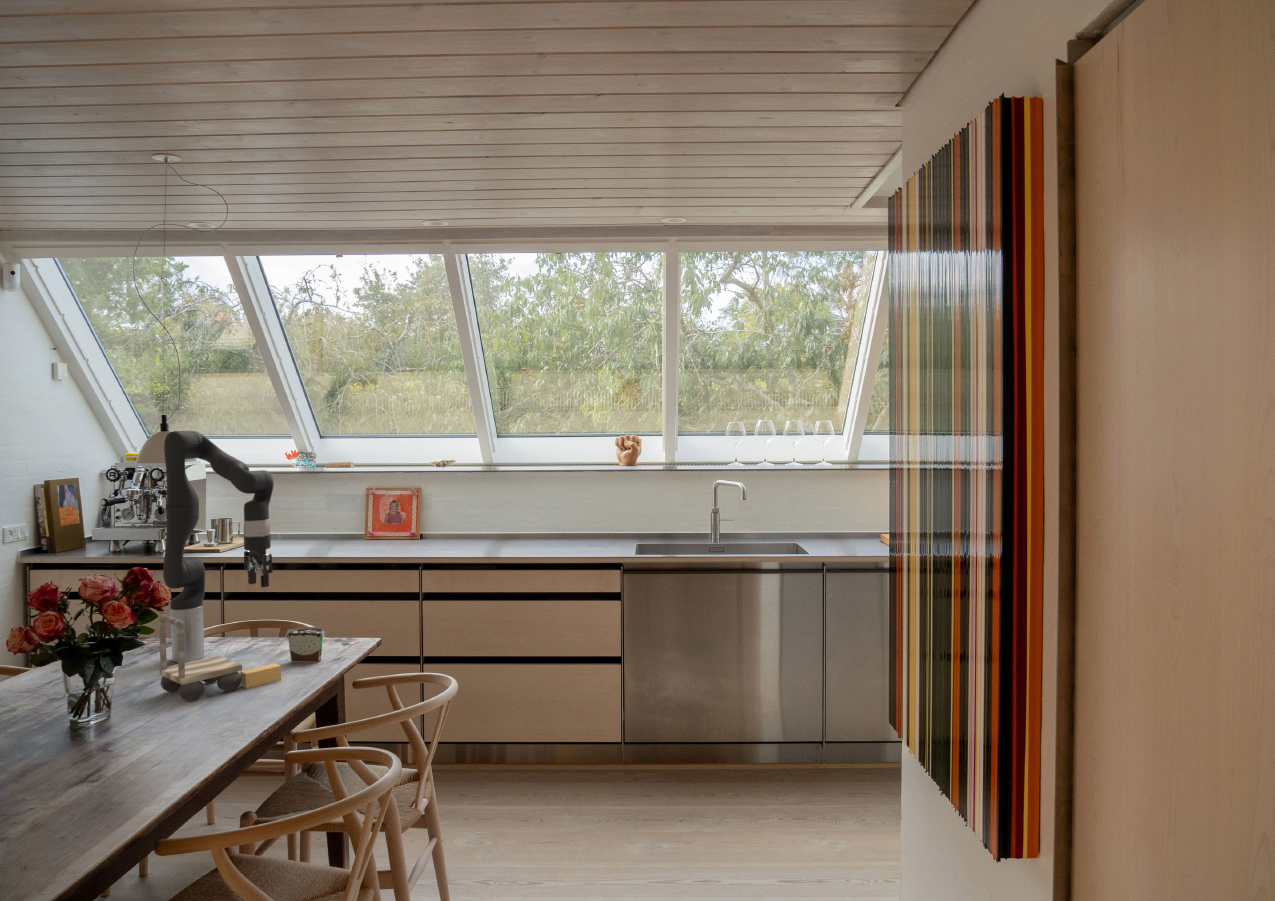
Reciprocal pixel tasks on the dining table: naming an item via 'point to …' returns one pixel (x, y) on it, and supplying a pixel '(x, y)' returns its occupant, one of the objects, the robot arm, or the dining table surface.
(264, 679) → the block
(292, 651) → the food container
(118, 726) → the dining table surface
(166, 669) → the trolley
